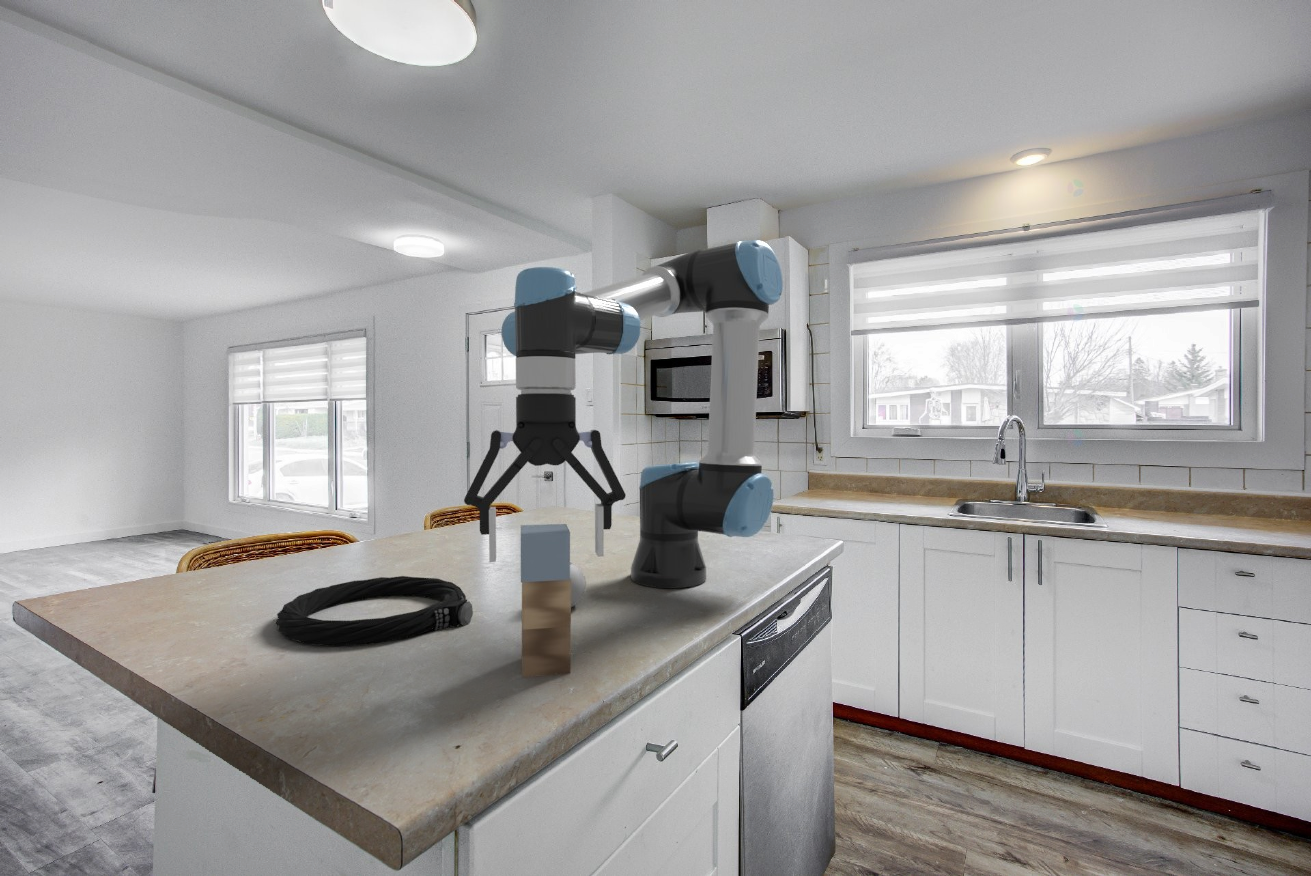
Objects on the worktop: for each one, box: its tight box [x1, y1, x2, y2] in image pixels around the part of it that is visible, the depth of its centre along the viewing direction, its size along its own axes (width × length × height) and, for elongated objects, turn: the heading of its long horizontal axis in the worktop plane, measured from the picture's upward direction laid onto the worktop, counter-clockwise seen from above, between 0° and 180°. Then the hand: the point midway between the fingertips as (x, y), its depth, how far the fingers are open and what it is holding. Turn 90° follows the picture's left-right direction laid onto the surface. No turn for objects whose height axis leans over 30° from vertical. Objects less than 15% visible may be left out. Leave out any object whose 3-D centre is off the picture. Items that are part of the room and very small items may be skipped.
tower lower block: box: [521, 626, 572, 678], centre depth 79 cm, size 6×6×6 cm
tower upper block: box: [521, 578, 572, 631], centre depth 79 cm, size 6×6×6 cm
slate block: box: [520, 523, 571, 583], centre depth 78 cm, size 6×6×6 cm
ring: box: [274, 575, 474, 647], centre depth 98 cm, size 28×4×30 cm
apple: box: [570, 561, 587, 608], centre depth 103 cm, size 8×8×8 cm
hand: (547, 557), depth 79 cm, fingers open, 13 cm apart
